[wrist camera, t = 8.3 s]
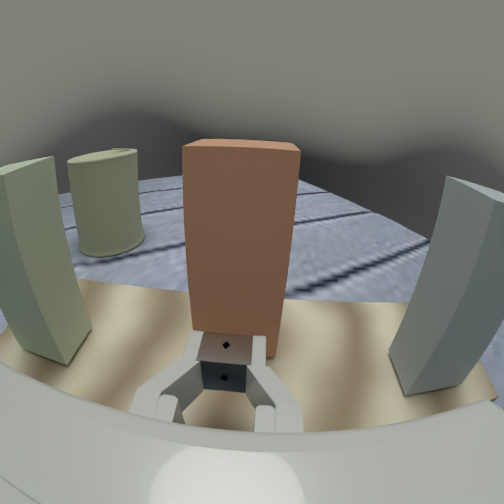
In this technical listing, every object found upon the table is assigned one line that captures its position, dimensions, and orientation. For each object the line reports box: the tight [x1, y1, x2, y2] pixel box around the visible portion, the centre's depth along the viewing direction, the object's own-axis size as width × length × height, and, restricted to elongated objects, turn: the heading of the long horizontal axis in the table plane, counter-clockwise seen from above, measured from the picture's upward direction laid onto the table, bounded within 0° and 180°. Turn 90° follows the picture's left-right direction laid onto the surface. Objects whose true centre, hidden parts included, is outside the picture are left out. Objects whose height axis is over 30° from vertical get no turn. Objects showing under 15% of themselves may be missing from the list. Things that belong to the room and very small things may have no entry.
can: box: [67, 149, 144, 257], centre depth 31 cm, size 9×9×12 cm
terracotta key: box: [182, 139, 301, 357], centre depth 16 cm, size 5×4×12 cm
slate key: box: [388, 176, 504, 395], centre depth 12 cm, size 5×4×12 cm
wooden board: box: [0, 278, 498, 432], centre depth 17 cm, size 38×12×2 cm, turn 87°
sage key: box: [0, 156, 92, 365], centre depth 13 cm, size 5×4×12 cm
